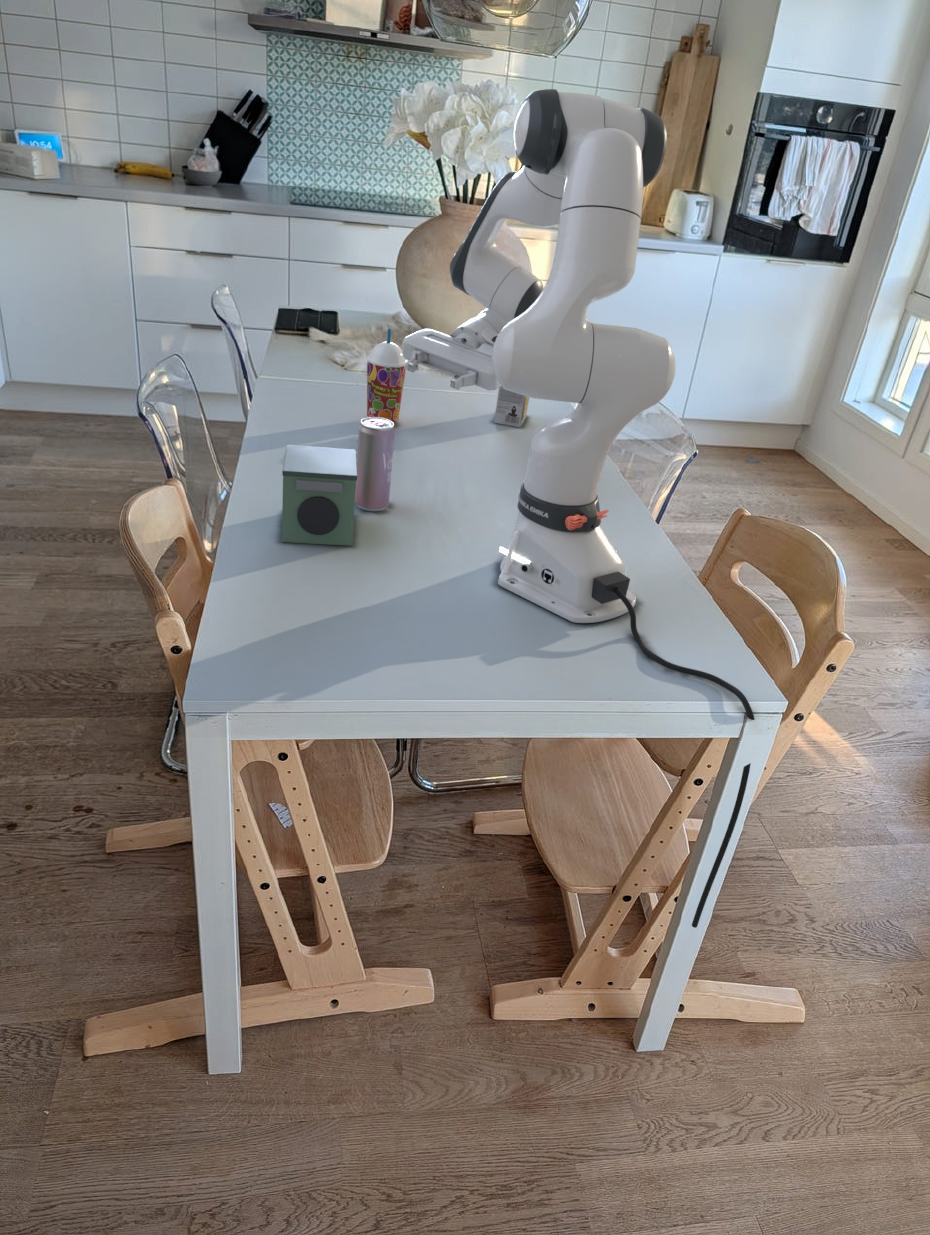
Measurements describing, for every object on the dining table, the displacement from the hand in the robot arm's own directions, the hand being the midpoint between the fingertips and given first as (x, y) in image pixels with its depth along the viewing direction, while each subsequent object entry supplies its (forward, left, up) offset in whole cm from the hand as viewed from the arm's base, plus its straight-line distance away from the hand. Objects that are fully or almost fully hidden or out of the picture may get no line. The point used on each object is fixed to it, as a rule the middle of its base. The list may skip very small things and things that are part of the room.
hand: (431, 376), depth 161 cm
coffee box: (+22, -42, -20) cm, 51 cm away
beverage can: (-5, +14, -20) cm, 25 cm away
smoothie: (+30, -12, -20) cm, 38 cm away
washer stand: (-9, +27, -20) cm, 35 cm away
